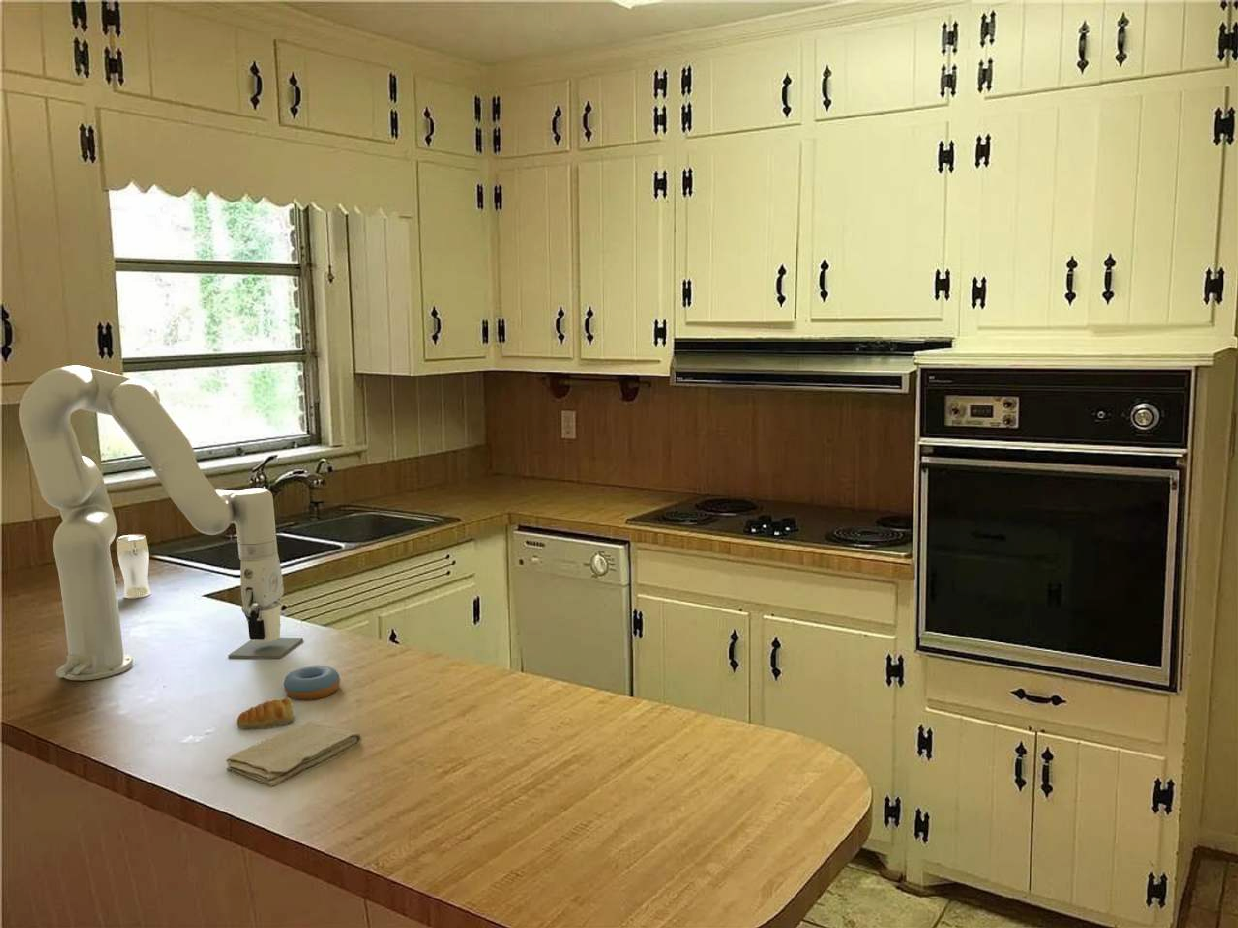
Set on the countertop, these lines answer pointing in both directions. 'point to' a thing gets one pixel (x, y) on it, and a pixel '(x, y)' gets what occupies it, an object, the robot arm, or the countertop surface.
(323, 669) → the doughnut
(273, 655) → the mat
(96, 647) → the robot arm
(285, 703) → the pastry
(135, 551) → the beer glass
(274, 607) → the white cup
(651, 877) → the countertop surface
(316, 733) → the washcloth
